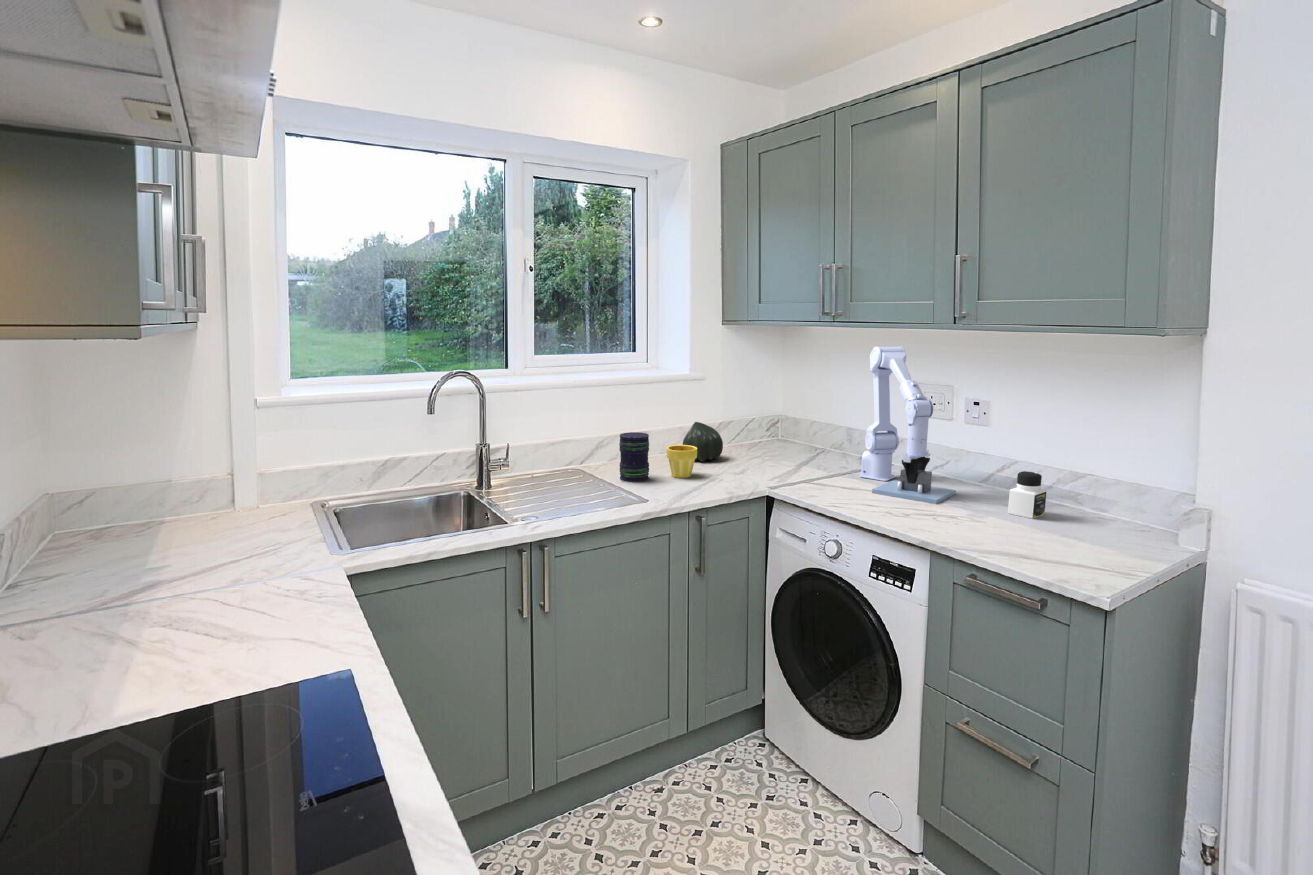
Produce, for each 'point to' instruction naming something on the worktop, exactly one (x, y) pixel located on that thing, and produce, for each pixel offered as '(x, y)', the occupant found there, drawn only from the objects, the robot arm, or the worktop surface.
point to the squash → (704, 441)
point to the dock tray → (931, 497)
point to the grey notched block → (917, 481)
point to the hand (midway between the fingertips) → (914, 481)
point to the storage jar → (634, 457)
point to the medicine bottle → (1027, 496)
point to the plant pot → (681, 460)
